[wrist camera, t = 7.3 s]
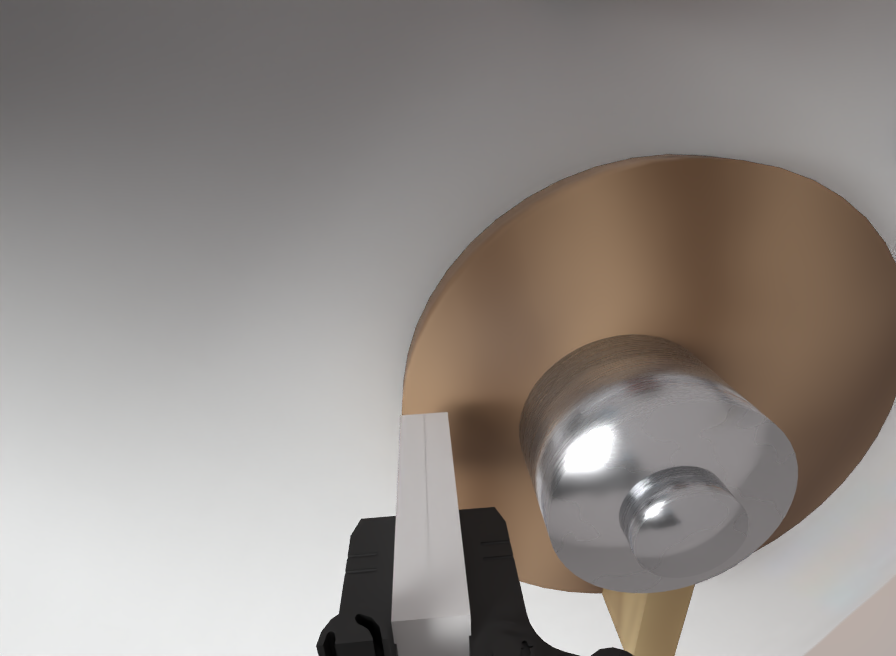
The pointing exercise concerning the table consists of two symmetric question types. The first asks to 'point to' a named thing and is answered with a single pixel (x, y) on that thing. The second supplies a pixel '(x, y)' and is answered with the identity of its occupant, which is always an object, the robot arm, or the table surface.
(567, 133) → the table surface
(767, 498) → the cover
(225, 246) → the table surface
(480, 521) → the robot arm
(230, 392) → the table surface
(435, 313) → the turntable
